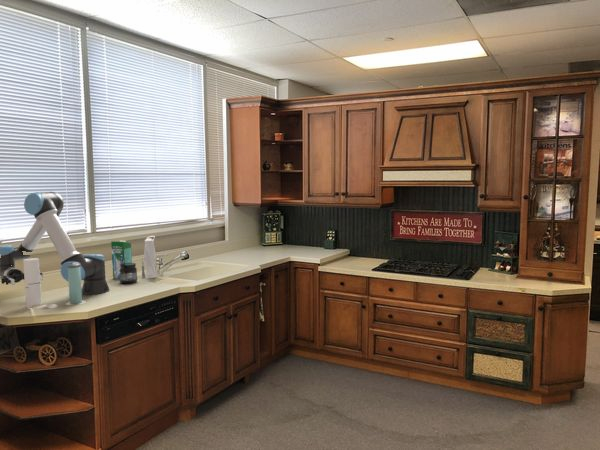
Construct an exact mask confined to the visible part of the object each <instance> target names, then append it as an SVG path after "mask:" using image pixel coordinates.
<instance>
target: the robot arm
mask: <svg viewBox="0 0 600 450" xmlns="http://www.w3.org/2000/svg"><path fill="white" fill-rule="evenodd" d="M64 203H65V202H64V199H63V197H62V196H61V195H60V194H59V193H57V192H55V191H43V192H41V191H40V192H37V191H36V192H31V193H29V194H28V195H27V196H25V199H24V203H23V206H24V209H25V212H26V213H27V214H28V215H31V216H34V218H35V222H34V223H33V225H32V226H31V228H30V230H28V232H27V234H26V236H25V237H24V239H23V240H22V241H21V243H20V245H19V246H16V247H14V245H10V244H7V245H0V254H1V258H0V276H1V277H0V278H1V279H0V280H1V285H2V284H3V285H4V284H5V285H13V286H14V285H15V284H16V283H19V282H21V281H23V280H24V281H25V278H24V271H22V270H21V269H18V268H16V264H15V263H16V261H20V259H21V260H24V259H25V258H27V259H29V258H28V257H30V255H23V252H22V251H26V252H32V251H33V250H34V248H35V249H36V247H37V245H38V244H39V242H40V241H41V240H42V238H43V237H44V235H45V233H46V234H47V235H48V238H49V239H50V241H51V243H52V244H53V246H54V248H55V250H56V251H57V253H58V255H59V257H60V258H61V260H60V265H61V266H60V274H61V276H62V278H63V279H64V280H65V281H67V282H68V268H67V265H69V264H80V265H81V266H80V272H81V281H83V283H82V285H81V289H82V295H85V296H91V295H92V296H93V295H95V296H96V295H101V294H105V293H109V292H110V287H109V285H108V282H107V280H106V260H105V256H104V255H103V254H98V253H97V254H92V253H91V254H82V252H79V251H78V250H77V249H76V248H75V245H74V243H73V241H72V240H71V238H70V237H69V234H68V233H67V231H66V229H65V228H64V226H63V224H62V222H61V221H60V218H59V216H60V214H61V213H62V211H63V209H64V205H65V204H64ZM30 258H31V257H30ZM11 265H12V266H11ZM40 281H43V272H40Z"/></svg>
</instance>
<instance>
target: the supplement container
mask: <svg viewBox="0 0 600 450" xmlns="http://www.w3.org/2000/svg"><path fill="white" fill-rule="evenodd" d="M137 270H138V269H137V264H136V262H132V263H122V264H120V270H119V271H120V279H119V282H120V284H123V285H125V284H126V285H130V284H134V283H137V282H138V271H137Z"/></svg>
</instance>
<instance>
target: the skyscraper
mask: <svg viewBox="0 0 600 450" xmlns="http://www.w3.org/2000/svg"><path fill="white" fill-rule="evenodd" d="M151 237H153V239H152V238H151ZM155 238H156V236H155V235H150V236H147V237H146V239H144V249H143V250H144V251H143V259H142V265H141V271H142V272H141V276H142V277H141V278H142V279H146V280H149V279H154V278H155V279H156V278H157V277H158V276H157V273H156V270H155V268H156V263H157V262H156V260H157V255H156V254H157V253H156V247H155V243H154V242H155ZM144 264H145V265H144ZM145 268H146V272H145Z"/></svg>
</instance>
